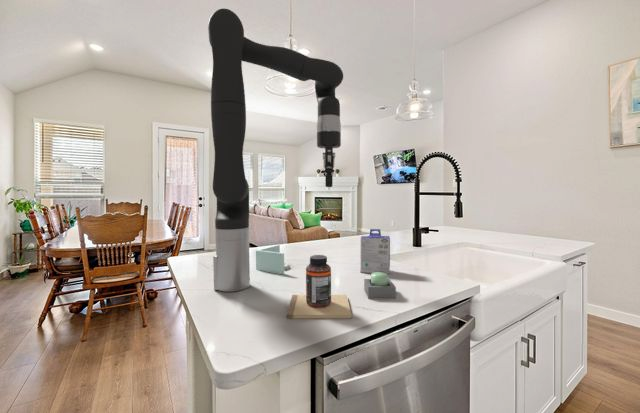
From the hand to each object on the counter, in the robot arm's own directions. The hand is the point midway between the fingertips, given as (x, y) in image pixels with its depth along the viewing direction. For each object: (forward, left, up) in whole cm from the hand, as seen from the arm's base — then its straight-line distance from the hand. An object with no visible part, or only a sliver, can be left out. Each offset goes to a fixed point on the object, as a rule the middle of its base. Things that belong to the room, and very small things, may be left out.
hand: (328, 186), depth 92 cm
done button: (+13, -16, -27) cm, 34 cm away
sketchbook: (-3, -25, -29) cm, 38 cm away
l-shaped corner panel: (-18, +11, -30) cm, 36 cm away
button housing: (+13, -16, -29) cm, 36 cm away
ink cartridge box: (+16, +6, -29) cm, 34 cm away
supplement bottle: (-3, -25, -28) cm, 38 cm away
